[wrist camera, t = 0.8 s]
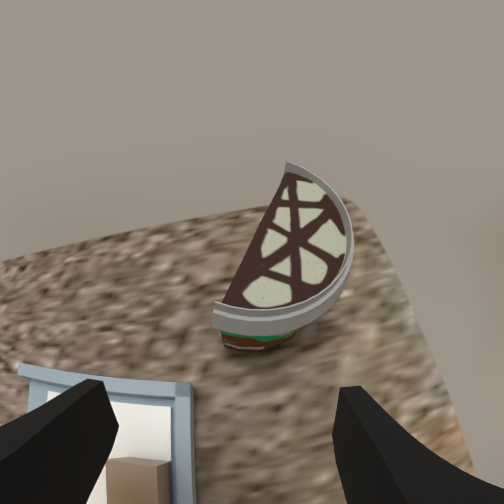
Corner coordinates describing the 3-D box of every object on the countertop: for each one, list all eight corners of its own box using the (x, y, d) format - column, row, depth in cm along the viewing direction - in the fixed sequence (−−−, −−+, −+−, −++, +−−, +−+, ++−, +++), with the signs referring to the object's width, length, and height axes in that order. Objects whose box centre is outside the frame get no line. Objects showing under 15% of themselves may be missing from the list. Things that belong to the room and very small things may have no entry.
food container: (293, 392, 22) (335, 359, 13) (216, 363, 23) (209, 311, 14) (334, 263, 28) (373, 185, 20) (271, 241, 29) (288, 156, 21)
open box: (202, 569, 13) (199, 581, 11) (34, 531, 12) (19, 536, 10) (194, 388, 21) (190, 382, 19) (34, 370, 20) (19, 362, 18)
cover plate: (178, 554, 13) (165, 581, 9) (54, 527, 12) (18, 538, 8) (172, 407, 20) (156, 398, 15) (52, 392, 19) (16, 376, 15)
